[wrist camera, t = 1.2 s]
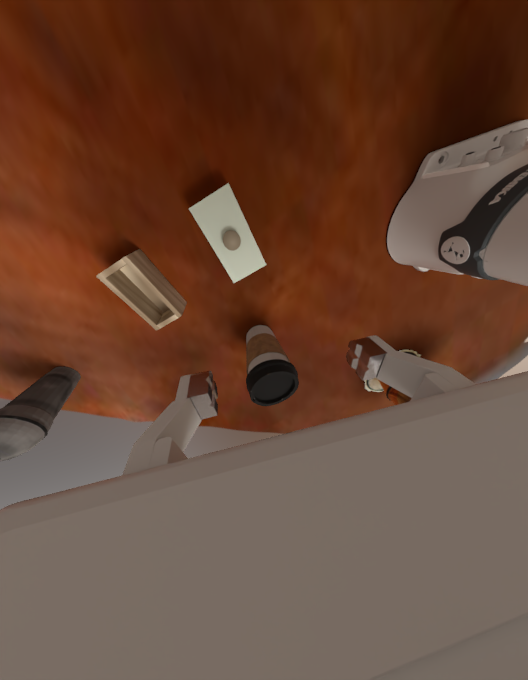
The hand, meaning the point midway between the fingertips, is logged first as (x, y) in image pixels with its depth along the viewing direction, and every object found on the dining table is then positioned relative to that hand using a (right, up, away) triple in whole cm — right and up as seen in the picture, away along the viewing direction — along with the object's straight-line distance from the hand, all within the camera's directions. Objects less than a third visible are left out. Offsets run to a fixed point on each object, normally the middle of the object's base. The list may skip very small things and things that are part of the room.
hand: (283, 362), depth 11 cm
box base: (-19, +10, +20) cm, 30 cm away
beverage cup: (-41, -6, +27) cm, 49 cm away
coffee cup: (-2, +2, +30) cm, 30 cm away
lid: (-6, +17, +18) cm, 26 cm away
